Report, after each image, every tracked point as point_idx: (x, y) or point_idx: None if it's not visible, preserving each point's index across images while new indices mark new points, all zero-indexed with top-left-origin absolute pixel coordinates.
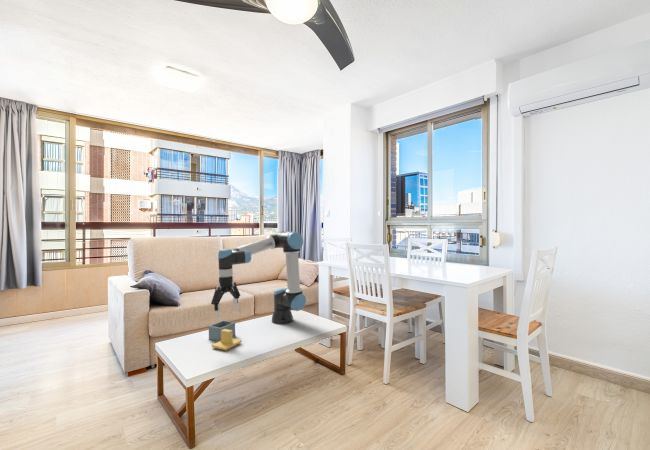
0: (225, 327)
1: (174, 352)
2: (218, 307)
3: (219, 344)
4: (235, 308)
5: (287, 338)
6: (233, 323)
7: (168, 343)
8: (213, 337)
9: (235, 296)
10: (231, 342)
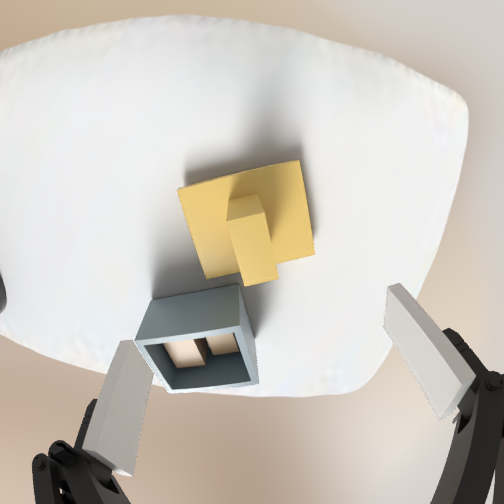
0: (202, 327)
1: None
2: (456, 353)
3: (289, 230)
4: (135, 361)
5: (23, 97)
6: (145, 338)
7: (351, 381)
8: (249, 327)
9: (98, 489)
10: (237, 197)
